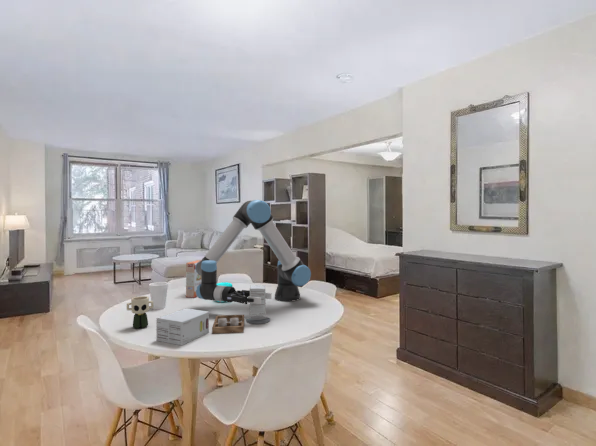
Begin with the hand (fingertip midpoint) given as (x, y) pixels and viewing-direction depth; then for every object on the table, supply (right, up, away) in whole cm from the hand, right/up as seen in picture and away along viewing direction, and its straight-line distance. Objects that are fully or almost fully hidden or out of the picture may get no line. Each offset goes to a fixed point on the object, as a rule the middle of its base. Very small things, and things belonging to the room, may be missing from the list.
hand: (266, 298), depth 168 cm
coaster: (-4, -11, +2) cm, 12 cm away
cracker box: (-48, -10, +54) cm, 73 cm away
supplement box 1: (-32, -12, -19) cm, 39 cm away
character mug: (-55, -11, -8) cm, 57 cm away
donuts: (-28, -10, +40) cm, 50 cm away
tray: (-16, -11, -7) cm, 21 cm away
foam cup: (-59, -10, +24) cm, 65 cm away
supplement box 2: (-4, -8, +2) cm, 9 cm away
